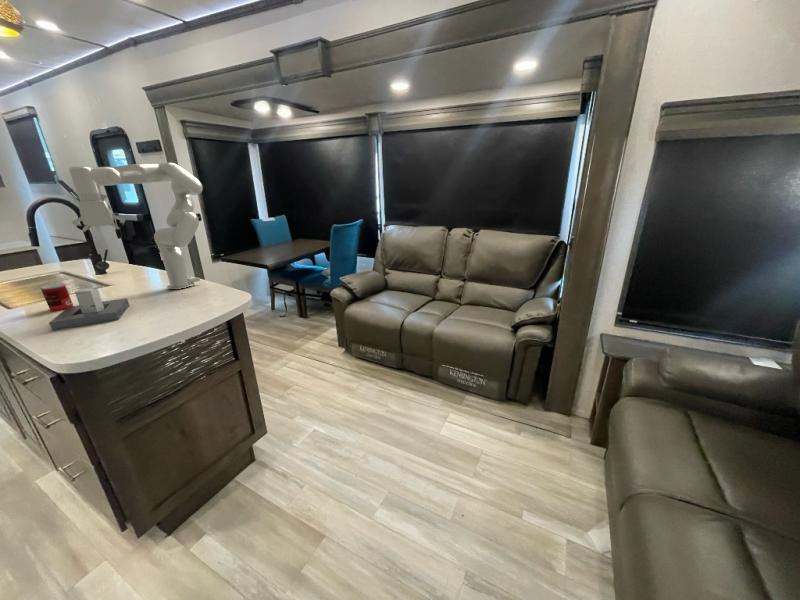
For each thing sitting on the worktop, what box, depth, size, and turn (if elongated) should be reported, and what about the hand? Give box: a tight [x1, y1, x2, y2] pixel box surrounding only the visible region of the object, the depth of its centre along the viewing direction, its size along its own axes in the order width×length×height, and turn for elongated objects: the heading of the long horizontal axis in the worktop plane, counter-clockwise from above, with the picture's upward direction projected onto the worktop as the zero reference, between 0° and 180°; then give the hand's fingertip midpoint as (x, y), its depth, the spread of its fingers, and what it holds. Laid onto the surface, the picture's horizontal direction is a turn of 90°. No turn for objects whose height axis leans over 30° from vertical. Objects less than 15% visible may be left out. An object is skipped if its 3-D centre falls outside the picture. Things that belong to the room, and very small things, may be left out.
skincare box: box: [74, 287, 105, 314], centre depth 132 cm, size 6×4×12 cm
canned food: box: [40, 282, 74, 312], centre depth 144 cm, size 8×8×11 cm
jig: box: [48, 297, 130, 332], centre depth 133 cm, size 20×20×4 cm
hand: (105, 239), depth 138 cm, fingers open, 9 cm apart
